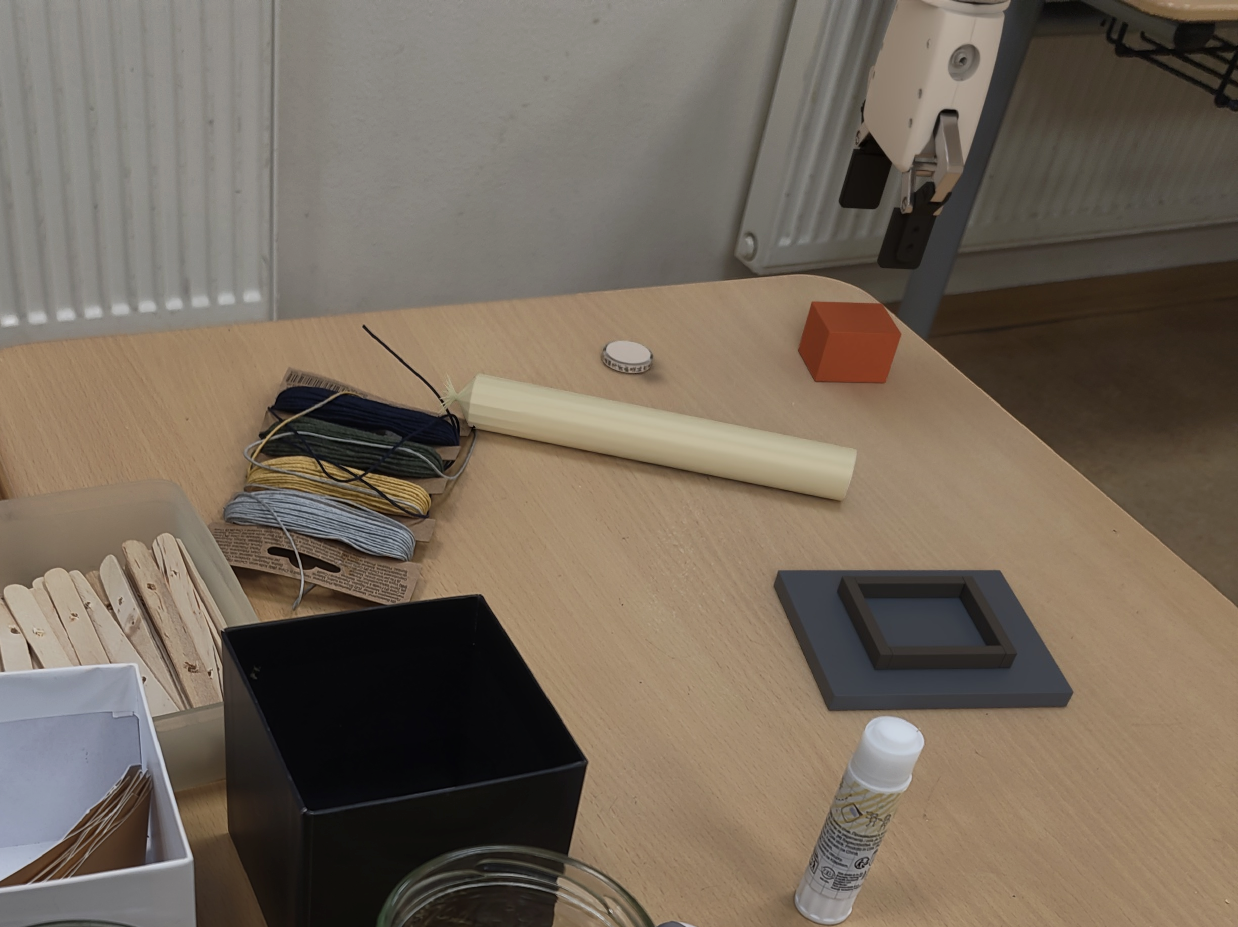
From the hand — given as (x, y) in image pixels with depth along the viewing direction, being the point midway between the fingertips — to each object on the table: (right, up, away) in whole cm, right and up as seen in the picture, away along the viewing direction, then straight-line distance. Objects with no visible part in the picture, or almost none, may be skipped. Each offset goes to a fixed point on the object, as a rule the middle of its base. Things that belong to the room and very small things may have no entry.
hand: (876, 236), depth 110 cm
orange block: (-1, -6, +8) cm, 10 cm away
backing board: (-2, -35, -15) cm, 38 cm away
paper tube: (-19, -18, -4) cm, 26 cm away
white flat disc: (-18, -7, +5) cm, 20 cm away
